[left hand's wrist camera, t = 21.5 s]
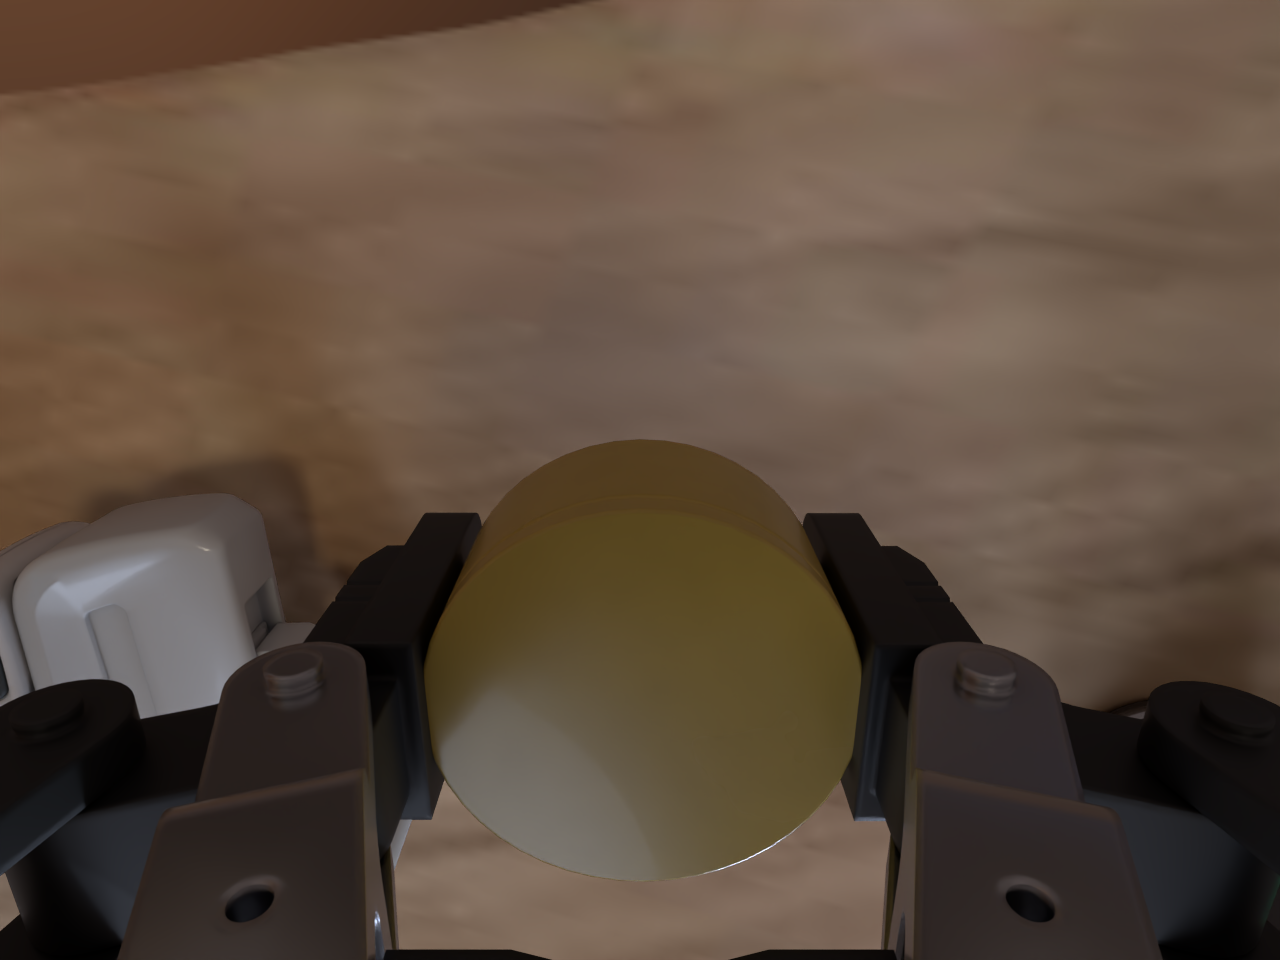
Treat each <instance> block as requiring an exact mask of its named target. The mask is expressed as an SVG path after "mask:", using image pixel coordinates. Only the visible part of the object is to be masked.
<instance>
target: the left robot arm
mask: <svg viewBox="0 0 1280 960" xmlns="http://www.w3.org/2000/svg"><path fill="white" fill-rule="evenodd" d="M481 527H482V525H481V520H480V517H479V515H478V513H425V514H424V515H423V517H422V518H421V520H420V521H419V523H418V525H417V526H416V528H415V529H414V531H413V532H412V534H411V536H410V537H409V539H408V540H407V542H406V544H405V545H404V546H386V547H384V548H383V549H381V550H379V551H378V552H376V553H375V554H373V555H371V556H370V557H368V558H367V559H365V560H363V561H362V562H360V564H359V565H358V567H357V568H356V569H355V571H354V572H353V574H352V575H351V576H350V578H349V579H348V581H347V585H344V586H343V588H342V589H341V590H340V592H339V593H338V595H337V596H336V600H335V601H333V602H332V603H331V604H330V606H329V607H328V608H327V610H326V611H325V613H324V614H323V615H322V617H321V618H320V620H319V621H318V622H317V624H316V625H315V627H314V628H313V629H312V631H311V632H310V634H309V635H308V636H307V638H306V639H305V641H304V642H303V643H299V644H294V645H289V646H285V647H281V648H278V649H275V650H272V651H269V652H267V653H264V654H262V655H260V656H258V657H256V658H254V659H252V660H250V661H249V662H247V663H245V664H244V665H242V666H241V667H240V668H238V669H237V670H236V671H235V672H234V673H233V674H232V675H231V676H230V677H229V678H228V680H227V681H226V682H225V684H224V687H223V689H222V692H221V696H220V700H219V703H218V704H214V705H210V706H205V707H201V708H195V709H190V710H185V711H180V712H174V713H169V714H164V715H159V716H153V717H148V718H143V719H140V715H139V712H138V708H137V704H136V700H135V696H134V694H133V692H132V690H131V689H130V688H129V687H128V686H126V685H124V684H122V683H120V682H117V681H113V680H105V679H86V680H76V681H70V682H65V683H60V684H56V685H52V686H48V687H45V688H42V689H39V690H36V691H33V692H30V693H28V694H25V695H23V696H20V697H18V698H16V699H14V700H12V701H10V702H7V703H6V704H4V705H2V706H0V876H1V875H2V874H3V873H4V872H5V874H6V876H7V879H8V882H9V885H10V887H11V890H12V893H13V896H14V898H15V901H16V904H17V907H18V909H19V912H20V915H18V916H17V917H16V918H15V919H14V920H13V921H11V922H10V923H9V924H8V925H7V926H6V927H5V928H3V929H2V930H1V931H0V960H550V959H546V958H542V957H538V956H534V955H530V954H526V953H522V952H518V951H514V950H399V939H398V924H397V908H396V893H395V877H394V864H393V857H392V850H391V842H392V840H393V838H394V835H395V832H396V829H397V827H398V824H399V821H400V820H431V819H432V816H433V813H434V810H435V807H436V804H437V801H438V798H439V795H440V791H441V788H442V785H443V782H444V777H443V775H442V773H441V771H440V770H439V768H438V766H437V764H436V762H435V759H434V757H433V752H432V745H431V737H430V728H429V719H428V710H427V701H426V692H425V682H424V670H423V667H424V661H425V657H426V654H427V650H428V646H429V642H430V640H431V638H432V635H433V633H434V631H435V629H436V626H437V624H438V622H439V620H440V617H441V615H442V613H443V611H444V608H445V606H446V604H447V602H448V599H449V597H450V595H451V593H452V590H453V588H454V586H455V584H456V582H457V579H458V577H459V575H460V573H461V570H462V568H463V566H464V564H465V561H466V559H467V557H468V555H469V553H470V550H471V548H472V546H473V544H474V541H475V539H476V537H477V535H478V532H479V530H480V529H481ZM803 528H804V530H805V532H806V534H807V536H808V538H809V540H810V543H811V545H812V547H813V549H814V551H815V553H816V555H817V558H818V560H819V562H820V564H821V566H822V568H823V570H824V573H825V575H826V577H827V579H828V581H829V583H830V586H831V588H832V590H833V592H834V594H835V596H836V598H837V601H838V603H839V605H840V607H841V609H842V611H843V614H844V616H845V618H846V620H847V622H848V624H849V626H850V629H851V631H852V633H853V635H854V638H855V641H856V644H857V648H858V651H859V654H860V658H861V662H862V675H861V685H860V694H859V703H858V712H857V721H856V729H855V738H854V746H853V753H852V758H851V760H850V762H849V764H848V766H847V768H846V770H845V772H844V774H843V776H842V778H841V782H842V785H843V788H844V791H845V794H846V797H847V800H848V803H849V807H850V810H851V813H852V816H853V819H854V821H886V822H887V825H888V828H889V830H890V833H891V835H890V842H889V850H888V857H887V864H886V877H885V893H884V908H883V923H882V939H881V950H766V951H762V952H758V953H754V954H750V955H746V956H742V957H738V958H734V959H730V960H1280V707H1279V706H1278V705H1276V704H1274V703H1271V702H1269V701H1267V700H1265V699H1263V698H1260V697H1258V696H1255V695H1253V694H1250V693H1247V692H1244V691H1241V690H1238V689H1235V688H1231V687H1227V686H1223V685H1218V684H1212V683H1206V682H1196V681H1179V682H1171V683H1167V684H1163V685H1161V686H1159V687H1157V688H1155V689H1154V690H1153V691H1152V692H1151V694H1150V697H1149V699H1148V701H1142V702H1137V703H1134V704H1130V705H1127V706H1124V707H1121V708H1118V709H1116V710H1114V711H1111V712H1109V713H1106V712H1101V711H1096V710H1090V709H1085V708H1081V707H1077V706H1072V705H1069V704H1065V703H1062V702H1061V700H1060V696H1059V692H1058V689H1057V687H1056V684H1055V683H1054V681H1053V680H1052V678H1051V677H1050V676H1049V675H1048V674H1047V673H1046V672H1045V671H1044V670H1043V669H1042V668H1040V667H1039V666H1038V665H1036V664H1035V663H1033V662H1031V661H1030V660H1028V659H1026V658H1024V657H1022V656H1020V655H1018V654H1016V653H1013V652H1011V651H1008V650H1005V649H1002V648H999V647H995V646H991V645H986V644H983V643H982V642H981V640H980V639H979V637H978V636H977V635H976V633H975V632H974V631H973V629H972V628H971V626H970V625H969V624H968V622H967V621H966V620H965V618H964V617H963V616H962V614H961V613H960V611H959V610H958V609H957V607H956V606H955V605H954V603H953V602H950V598H949V596H948V595H947V594H946V592H945V591H944V589H943V588H942V587H941V586H938V581H937V580H936V578H935V577H934V576H933V574H932V573H931V572H930V570H929V569H928V567H927V566H926V565H925V563H924V562H922V561H920V560H919V559H917V558H916V557H914V556H912V555H911V554H909V553H907V552H906V551H904V550H903V549H901V548H899V547H898V546H880V544H879V543H878V541H877V540H876V538H875V536H874V535H873V533H872V532H871V530H870V529H869V527H868V526H867V524H866V523H865V521H864V519H863V518H862V516H861V515H860V514H858V513H807V514H806V516H805V518H804V522H803Z"/></svg>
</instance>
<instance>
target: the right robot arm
mask: <svg viewBox="0 0 1280 960" xmlns="http://www.w3.org/2000/svg"><path fill="white" fill-rule="evenodd" d="M314 627H315V624H313V623H311V622H296V623H286V621H285V616H284V612H283V607H282V603H281V598H280V594H279V589H278V585H277V580H276V576H275V571H274V567H273V562H272V558H271V553H270V549H269V544H268V539H267V535H266V530H265V525H264V521H263V517H262V514H261V513H260V511H259V510H257V509H256V508H255V507H253V506H252V505H250V504H248V503H247V502H245V501H243V500H242V499H240V498H238V497H236V496H234V495H232V494H227V493H210V494H195V495H185V496H177V497H169V498H162V499H155V500H150V501H144V502H139V503H134V504H130V505H126V506H123V507H120V508H117V509H115V510H113V511H111V512H110V513H108V514H106V515H104V516H103V517H101V518H99V519H98V520H96V521H94V522H93V523H91V524H90V523H86V522H62V523H59V524H56V525H53V526H51V527H48V528H46V529H43V530H41V531H39V532H36V533H34V534H32V535H29V536H27V537H25V538H23V539H21V540H19V541H17V542H15V543H14V544H12V545H10V546H8V547H6V548H5V549H3V550H1V551H0V706H2V705H4V704H6V703H7V702H10V701H12V700H14V699H16V698H18V697H20V696H23V695H25V694H28V693H30V692H33V691H36V690H39V689H42V688H45V687H48V686H52V685H56V684H60V683H65V682H70V681H76V680H86V679H105V680H113V681H117V682H120V683H122V684H124V685H126V686H128V687H129V688H130V689H131V690H132V692H133V694H134V696H135V700H136V704H137V708H138V712H139V715H140V719H143V718H148V717H153V716H159V715H164V714H169V713H174V712H180V711H185V710H190V709H195V708H201V707H205V706H210V705H214V704H218V703H219V700H220V696H221V692H222V689H223V687H224V684H225V682H226V681H227V680H228V678H229V677H230V676H231V675H232V674H233V673H234V672H235V671H236V670H237V669H238V668H240V667H241V666H242V665H244V664H245V663H247V662H249V661H250V660H252V659H254V658H256V657H258V656H260V655H262V654H264V653H267V652H269V651H272V650H275V649H278V648H281V647H285V646H289V645H294V644H299V643H303V642H304V641H305V639H306V638H307V636H308V635H309V634H310V632H311V631H312V629H313V628H314Z"/></svg>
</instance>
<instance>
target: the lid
mask: <svg viewBox="0 0 1280 960" xmlns="http://www.w3.org/2000/svg"><path fill="white" fill-rule="evenodd" d="M423 670H424V682H425V692H426V701H427V710H428V719H429V728H430V737H431V745H432V752H433V757H434V759H435V762H436V764H437V766H438V768H439V770H440V771H441V773H442V775H443V777H444V779H445V781H446V782H447V784H448V786H449V787H450V788H451V790H452V791H453V792H454V794H455V795H456V796H457V798H458V799H459V800H460V802H461V803H462V804H463V805H464V806H465V807H466V808H467V809H468V810H469V812H470V813H471V814H472V815H473V816H474V817H475V818H476V819H477V820H478V821H479V822H480V823H482V824H483V825H484V826H485V827H487V828H488V829H489V830H490V831H492V832H493V833H494V834H495V835H496V836H498V837H499V838H501V839H502V840H504V841H505V842H507V843H509V844H510V845H512V846H513V847H515V848H516V849H518V850H520V851H522V852H524V853H526V854H528V855H530V856H532V857H534V858H536V859H538V860H540V861H542V862H545V863H547V864H550V865H553V866H556V867H559V868H561V869H564V870H567V871H571V872H575V873H579V874H583V875H587V876H591V877H597V878H604V879H612V880H619V881H644V882H646V881H663V880H674V879H681V878H687V877H693V876H698V875H702V874H706V873H710V872H713V871H717V870H721V869H724V868H727V867H729V866H732V865H734V864H737V863H740V862H742V861H745V860H747V859H749V858H751V857H753V856H755V855H757V854H759V853H761V852H763V851H765V850H767V849H769V848H770V847H772V846H773V845H775V844H776V843H778V842H779V841H781V840H782V839H784V838H785V837H787V836H788V835H790V834H791V833H792V832H794V831H795V830H796V829H797V828H798V827H800V826H801V825H802V824H803V823H804V822H805V821H807V820H808V819H809V818H810V817H811V816H812V815H813V814H814V813H815V812H816V810H817V809H818V808H819V807H820V806H821V805H822V804H823V803H824V802H825V801H826V800H827V798H828V797H829V795H830V794H831V792H832V791H833V790H834V788H835V787H836V785H837V784H838V782H839V781H840V780H841V778H842V776H843V774H844V772H845V770H846V768H847V766H848V764H849V762H850V760H851V758H852V753H853V746H854V738H855V729H856V721H857V712H858V703H859V694H860V685H861V675H862V662H861V658H860V654H859V651H858V648H857V644H856V641H855V638H854V635H853V633H852V631H851V629H850V626H849V624H848V622H847V620H846V618H845V616H844V614H843V611H842V609H841V607H840V605H839V603H838V601H837V598H836V596H835V594H834V592H833V590H832V588H831V586H830V583H829V581H828V579H827V577H826V575H825V573H824V570H823V568H822V566H821V564H820V562H819V560H818V558H817V555H816V553H815V551H814V549H813V547H812V545H811V543H810V540H809V538H808V536H807V534H806V532H805V530H804V528H803V526H802V525H801V523H800V522H799V520H798V519H797V517H796V516H795V514H794V513H793V511H792V510H791V508H790V507H789V506H788V505H787V504H786V503H785V501H784V500H783V499H782V498H781V497H780V496H779V495H778V494H777V493H776V492H775V490H773V489H772V488H771V487H770V486H769V485H767V484H766V483H765V482H764V481H763V480H761V479H760V478H759V477H758V476H757V475H755V474H753V473H752V472H750V471H749V470H747V469H745V468H744V467H742V466H741V465H739V464H737V463H736V462H734V461H731V460H729V459H727V458H725V457H723V456H720V455H718V454H716V453H714V452H711V451H708V450H704V449H701V448H698V447H695V446H691V445H687V444H681V443H675V442H670V441H662V440H641V439H638V440H625V441H613V442H609V443H604V444H599V445H594V446H589V447H586V448H583V449H580V450H577V451H574V452H572V453H569V454H566V455H564V456H562V457H560V458H558V459H556V460H553V461H551V462H549V463H547V464H545V465H543V466H542V467H540V468H539V469H537V470H536V471H534V472H533V473H531V474H530V475H528V476H527V477H525V478H524V479H523V480H522V481H521V482H519V483H518V484H517V485H516V486H515V487H514V488H513V489H512V490H510V491H509V492H508V493H507V494H506V495H505V496H504V497H503V499H502V500H501V501H500V502H499V503H498V504H497V506H496V507H495V508H494V509H493V510H492V511H491V513H490V514H489V516H488V518H487V519H486V521H485V522H484V524H483V526H482V527H481V529H480V530H479V532H478V535H477V537H476V539H475V541H474V544H473V546H472V548H471V550H470V553H469V555H468V557H467V559H466V561H465V564H464V566H463V568H462V570H461V573H460V575H459V577H458V579H457V582H456V584H455V586H454V588H453V590H452V593H451V595H450V597H449V599H448V602H447V604H446V606H445V608H444V611H443V613H442V615H441V617H440V620H439V622H438V624H437V626H436V629H435V631H434V633H433V635H432V638H431V640H430V642H429V646H428V650H427V654H426V657H425V661H424V667H423Z"/></svg>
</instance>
